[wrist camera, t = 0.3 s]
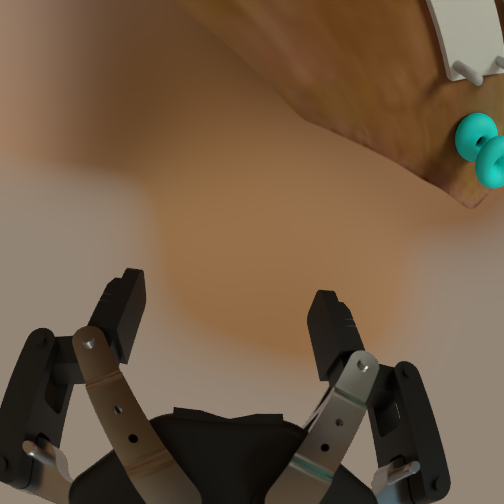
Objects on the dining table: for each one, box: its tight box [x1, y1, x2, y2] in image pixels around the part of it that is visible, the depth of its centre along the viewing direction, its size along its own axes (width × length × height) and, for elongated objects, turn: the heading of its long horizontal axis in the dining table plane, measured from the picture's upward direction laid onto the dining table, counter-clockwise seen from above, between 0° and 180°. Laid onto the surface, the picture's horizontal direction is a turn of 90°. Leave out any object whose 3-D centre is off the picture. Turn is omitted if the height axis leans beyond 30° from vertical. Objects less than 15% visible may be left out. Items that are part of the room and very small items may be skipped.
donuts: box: [455, 113, 504, 188], centre depth 30 cm, size 10×10×10 cm
